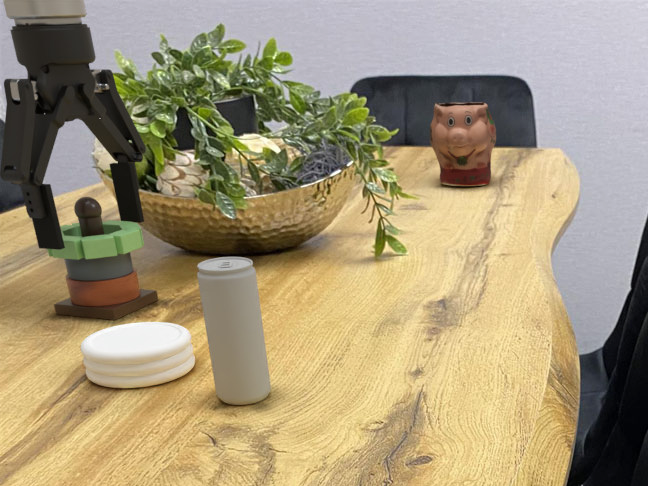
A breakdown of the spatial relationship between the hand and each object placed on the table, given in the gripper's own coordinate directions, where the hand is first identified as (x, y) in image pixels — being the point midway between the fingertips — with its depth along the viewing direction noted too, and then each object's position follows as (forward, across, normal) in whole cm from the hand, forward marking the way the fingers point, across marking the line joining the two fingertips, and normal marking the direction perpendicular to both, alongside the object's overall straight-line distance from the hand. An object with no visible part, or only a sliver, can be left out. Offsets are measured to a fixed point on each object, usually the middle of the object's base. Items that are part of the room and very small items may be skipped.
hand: (94, 234), depth 108 cm
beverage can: (+9, -20, -30) cm, 37 cm away
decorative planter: (+8, +86, -13) cm, 87 cm away
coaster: (+9, -17, -17) cm, 25 cm away
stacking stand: (+8, 0, 0) cm, 8 cm away
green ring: (+2, 0, 0) cm, 2 cm away
